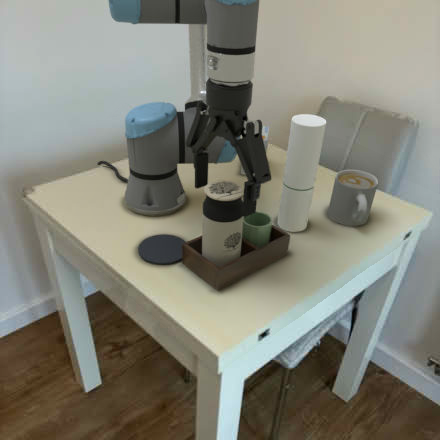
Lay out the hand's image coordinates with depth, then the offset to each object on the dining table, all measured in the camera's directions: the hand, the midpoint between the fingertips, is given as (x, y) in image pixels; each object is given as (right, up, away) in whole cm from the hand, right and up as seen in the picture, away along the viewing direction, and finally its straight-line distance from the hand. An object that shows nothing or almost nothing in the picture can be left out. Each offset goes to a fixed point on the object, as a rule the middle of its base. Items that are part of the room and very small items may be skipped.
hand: (224, 199), depth 86 cm
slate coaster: (-13, -8, +14) cm, 21 cm away
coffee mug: (+31, +1, +27) cm, 42 cm away
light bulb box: (+9, +19, +48) cm, 52 cm away
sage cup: (+7, -8, +15) cm, 19 cm away
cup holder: (+3, -10, +13) cm, 17 cm away
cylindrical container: (+17, -1, +25) cm, 30 cm away
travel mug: (-1, -12, +11) cm, 16 cm away
